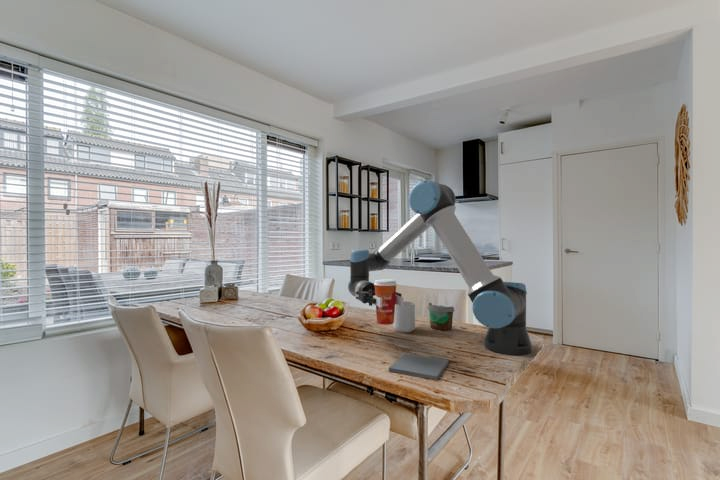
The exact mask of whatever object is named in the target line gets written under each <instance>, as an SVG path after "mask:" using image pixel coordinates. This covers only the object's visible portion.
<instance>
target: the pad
mask: <svg viewBox="0 0 720 480" xmlns="http://www.w3.org/2000/svg"><path fill="white" fill-rule="evenodd" d="M448 364H449V359H445V358H444V359H443V358H439V357H438V358H437V357H431V356H425V355H418V354H412V353H403V355H401V356H400V357H399V358H398V359H397V360H396V361H394V362H393V363H392V364H391V365H390V366H389V367H388V372H392V373H397V374H402V375H406V376H407V375H409V376H413V377H419V378H423V379H429V380H435V381H438V379H439V377H440V376H441V374H442V373H443V372H444V370H445V369H446V367H447V366H448Z"/></svg>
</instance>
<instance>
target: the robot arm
mask: <svg viewBox="0 0 720 480" xmlns="http://www.w3.org/2000/svg"><path fill="white" fill-rule="evenodd" d="M455 204H456V195H455V192H454V190H453V189H452V188H451V187H450V186H448V185H446V184H442V183H439V182H436V181H434V180H431V179H429V180H428V179H427V180H425V179H424V180H420V181H418V182H417V183H416V184H414V186H412V188H411V189H410V191H409V195H408V205H409V207H410V209H411V210H412V211H413V212H414V213H415V214H414V215H413V216H412V217H410V219H408V220H407V222H405V223H404V224H403V225H402V226H401V227H400V228H399V229H398V230H397V231H396V232H395V233H393V234H392V235H391V236H390V237H389V238H388V239H387V240H386V241H384V242H383V244H381V245H380V246H379V247H377V249H376V250H374V252H373V253H370V251H369V249H362V248H358V249H356V248H355V249H351V251H350V260H349V262H350V267H349V268H350V270H349V271H350V277H349V278H350V279H349V281H348V283H347V289H348V292H349V293H350V294H351V295H352V296H353V297H355V299H356V300H358V301H360V302H361V303H362V304H365V305H366V304H368V306H369V307H373V305H374V306H375V307H376V306H378V307H380V308H382V299H381V298H379V297H377V296H375V285H374V283H375V282H371V281H370V272H375V271H376V272H377V271H383V270H385V269H387V268H389V266H390V263H391V261H392V260H394V259H395V258H396V257H397V256H398V255H400V254H401V253H402V252H403V251H404V250H405V249H406V248H408V247H409V246H410V245H411V244H412V243H413V242H414V241H415V240H416V239H418V238H419V237H420V236H421V235H422V234H423V233H424V232H426V231H427V230H428V229H429V228H430V227H432V229H433V230H434V232H435V233H436V235H437V237H438V239H439V240H440V242H441V244H442V245H443V247H444V248H445V250H446V252H447V253H448V255H449V257H450V258H451V260H452V262H453V263H454V265H455V267H456V269H457V270H458V271H459V273H460V275H461V277H462V278H463V280H464V281H465V284H466V285H467V286H468V291H467V296H468V298H469V299H470V301H471V303H472V307H471V308H472V313H473V315H474V318H475V319H476V320H477V321H478V323H480V324H481V325H482V326H484V327H487V330H486V331H487V332H486V334H485V336H484V340H483V341H484V348H486V349H488V350H489V351H492V352H495V353H498V354H504V355H510V356H511V355H515V356H518V355H519V356H521V355H527V354H530V353H532V351H533V350H532V348H533V346H532V342H531V341H532V340H531V339H530V335H529V333H528V330H527V294H528V292H527V287H526V284H525V283H523V282H513V281H512V282H511V281H503V279H502V277H501V276H498V275H495V274H494V273H493V272H492V270H491V269H490V267H489V266H488V265H487V263H486V261H485V260H484V259H483V256H482V255H481V254H480V252H479V251H478V249H477V247H476V246H475V244H474V242H473V241H472V239H471V238H470V236H469V235H468V232H467V231H466V230H465V229H464V226H463V225H462V223H461V222H460V220H459V219H458V217H457V216H456V214H455V212H456V205H455ZM402 295H403V294H402V293H401V292H398V291H397V292H396V296H395V304H397V305H400V306H403V301H404V297H403V296H402Z"/></svg>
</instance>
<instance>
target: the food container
mask: <svg viewBox="0 0 720 480" xmlns="http://www.w3.org/2000/svg"><path fill="white" fill-rule="evenodd" d="M426 308H427V311H428V314H429V323H430V329H431V328H432V330H433V329H435V330H434V331H438V330H441V331H440V332H449V330H450V331H452V328H453V317H454V312H455V307H454V306H445V305H435V304H432V302H428V305H427V307H426Z"/></svg>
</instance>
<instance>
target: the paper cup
mask: <svg viewBox="0 0 720 480" xmlns="http://www.w3.org/2000/svg"><path fill="white" fill-rule="evenodd" d="M373 283H374V285H375V296H377V297H379V298H381V299H382V308H380V307H378V306H376V305H375V311H376V315H375V316H376V322H377V324H380V325H393V323H394V314H395V296H396V291H397V285H398V284H397V282H396V279H393V278H391V279H390V278H380V279H375V280H374V282H373Z"/></svg>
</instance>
